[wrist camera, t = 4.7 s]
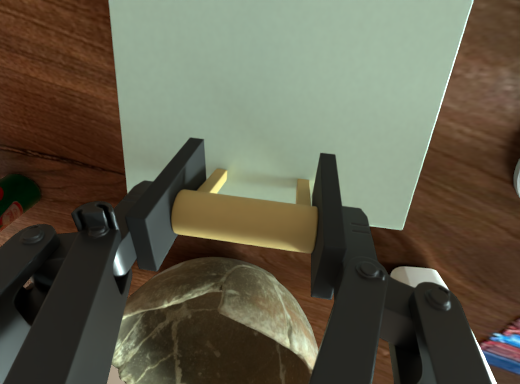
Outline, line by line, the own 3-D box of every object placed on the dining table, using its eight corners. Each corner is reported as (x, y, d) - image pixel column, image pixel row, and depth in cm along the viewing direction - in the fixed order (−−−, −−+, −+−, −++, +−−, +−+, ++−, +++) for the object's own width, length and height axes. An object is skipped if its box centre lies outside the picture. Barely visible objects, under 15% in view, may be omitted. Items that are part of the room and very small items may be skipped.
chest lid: (398, 224, 19) (453, 309, 12) (133, 189, 20) (48, 246, 13) (485, -64, 13) (682, -213, 6) (109, -81, 15) (-56, -214, 8)
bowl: (127, 205, 41) (47, 299, 28) (324, 212, 36) (330, 326, 24) (174, 319, 56) (136, 411, 44) (316, 334, 52) (317, 440, 40)
